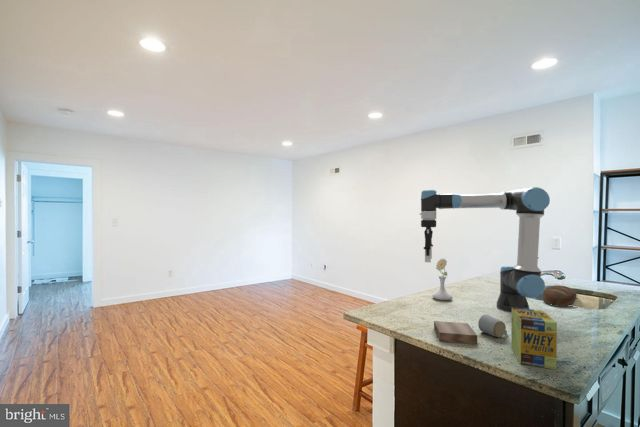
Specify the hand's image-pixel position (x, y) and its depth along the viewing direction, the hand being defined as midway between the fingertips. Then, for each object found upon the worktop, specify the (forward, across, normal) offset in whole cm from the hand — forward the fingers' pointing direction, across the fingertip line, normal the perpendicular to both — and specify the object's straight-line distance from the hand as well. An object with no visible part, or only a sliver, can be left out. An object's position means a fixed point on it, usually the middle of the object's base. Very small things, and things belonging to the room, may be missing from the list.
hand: (428, 260), depth 164 cm
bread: (+28, -56, +72) cm, 95 cm away
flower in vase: (+27, -29, +7) cm, 40 cm away
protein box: (+27, +40, +37) cm, 61 cm away
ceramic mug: (+27, +21, +28) cm, 44 cm away
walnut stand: (+27, +30, +12) cm, 42 cm away
